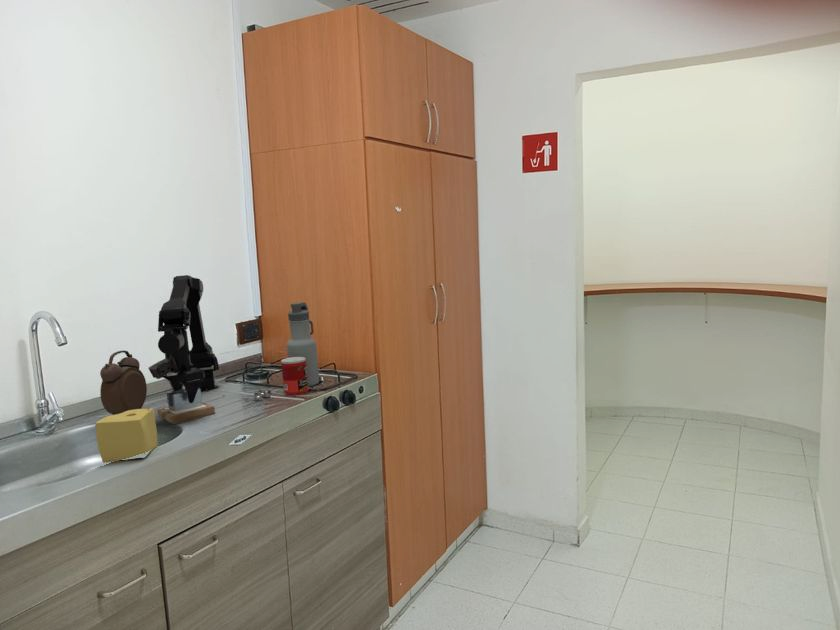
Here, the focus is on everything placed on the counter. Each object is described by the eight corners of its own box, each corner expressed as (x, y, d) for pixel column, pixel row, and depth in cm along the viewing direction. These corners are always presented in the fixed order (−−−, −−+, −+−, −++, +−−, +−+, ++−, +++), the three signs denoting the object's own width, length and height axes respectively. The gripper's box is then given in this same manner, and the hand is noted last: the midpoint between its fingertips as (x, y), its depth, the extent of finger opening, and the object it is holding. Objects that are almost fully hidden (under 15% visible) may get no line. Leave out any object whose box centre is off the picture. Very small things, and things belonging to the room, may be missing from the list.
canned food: (303, 395, 196) (300, 361, 194) (280, 395, 197) (276, 362, 196) (312, 389, 203) (309, 356, 202) (289, 389, 205) (286, 357, 203)
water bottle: (296, 381, 216) (289, 301, 213) (323, 380, 215) (316, 300, 211) (286, 388, 207) (278, 305, 203) (314, 387, 205) (306, 304, 201)
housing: (195, 402, 186) (193, 386, 185) (202, 405, 182) (200, 388, 182) (168, 408, 180) (166, 392, 180) (175, 411, 177) (173, 394, 176)
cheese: (117, 449, 155) (111, 410, 154) (161, 445, 156) (156, 406, 154) (99, 464, 145) (93, 423, 143) (146, 459, 145) (141, 418, 144)
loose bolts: (244, 400, 195) (244, 393, 194) (261, 393, 202) (261, 387, 201) (259, 401, 192) (259, 394, 192) (276, 394, 199) (275, 387, 199)
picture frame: (158, 417, 182) (157, 408, 182) (197, 407, 190) (196, 399, 190) (174, 424, 173) (173, 415, 173) (214, 413, 181) (213, 405, 181)
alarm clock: (130, 410, 192) (121, 347, 189) (151, 409, 191) (143, 346, 188) (99, 425, 178) (89, 357, 175) (122, 424, 177) (113, 356, 174)
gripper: (138, 350, 180) (145, 402, 182) (162, 356, 167) (169, 412, 169) (175, 343, 188) (182, 393, 190) (202, 349, 174) (208, 402, 176)
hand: (184, 400), depth 181 cm, fingers open, 9 cm apart
